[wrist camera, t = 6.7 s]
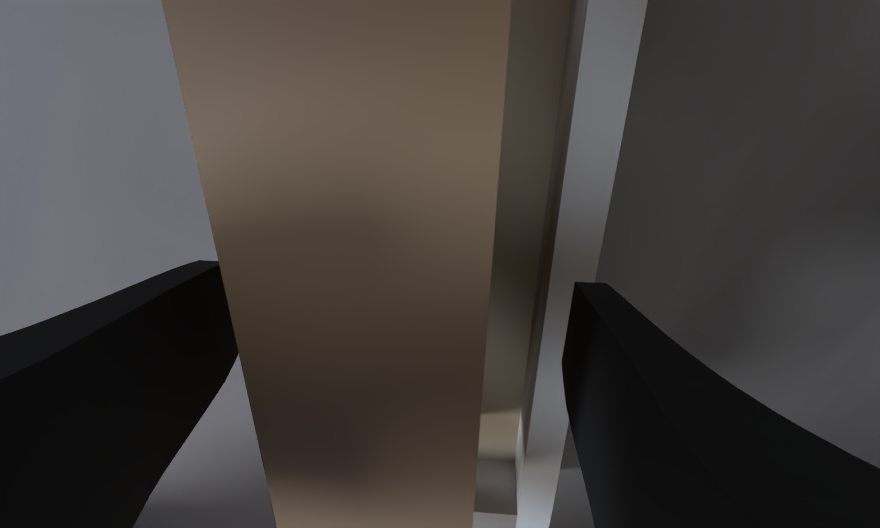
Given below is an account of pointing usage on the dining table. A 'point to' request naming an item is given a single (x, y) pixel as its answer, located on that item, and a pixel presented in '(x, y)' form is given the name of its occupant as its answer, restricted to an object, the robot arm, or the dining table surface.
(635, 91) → the dining table surface
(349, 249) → the brown rectangular block
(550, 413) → the door track
